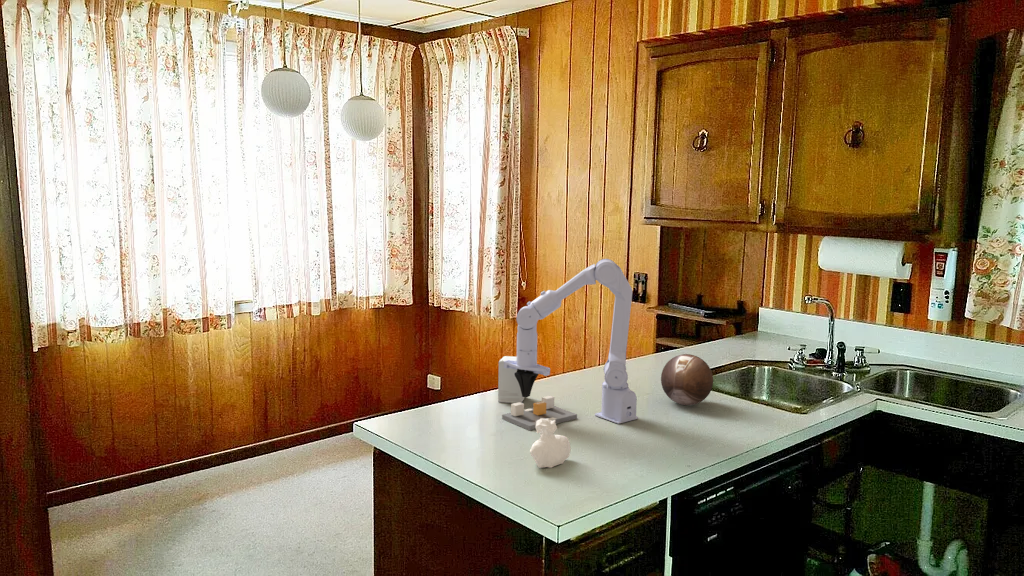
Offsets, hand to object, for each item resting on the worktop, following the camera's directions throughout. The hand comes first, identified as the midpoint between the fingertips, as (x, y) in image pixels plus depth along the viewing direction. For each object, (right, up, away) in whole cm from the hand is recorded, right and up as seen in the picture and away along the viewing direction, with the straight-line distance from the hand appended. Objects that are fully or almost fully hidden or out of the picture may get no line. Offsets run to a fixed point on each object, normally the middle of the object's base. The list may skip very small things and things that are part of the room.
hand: (526, 396), depth 206 cm
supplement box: (-4, -3, +14) cm, 15 cm away
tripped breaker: (+4, -4, -4) cm, 7 cm away
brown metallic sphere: (+48, -4, +11) cm, 49 cm away
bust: (+5, -10, -36) cm, 38 cm away
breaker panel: (+4, -6, -4) cm, 8 cm away
